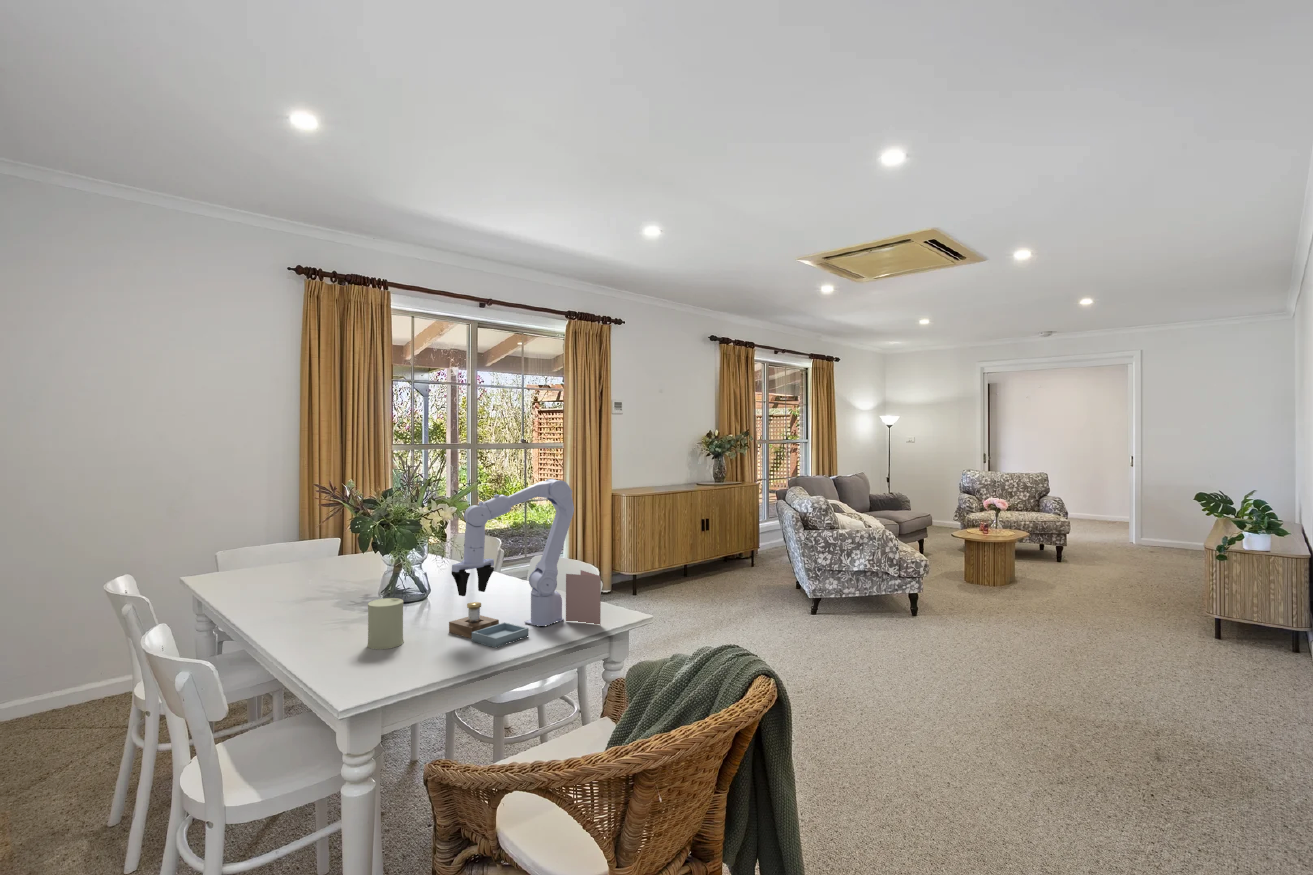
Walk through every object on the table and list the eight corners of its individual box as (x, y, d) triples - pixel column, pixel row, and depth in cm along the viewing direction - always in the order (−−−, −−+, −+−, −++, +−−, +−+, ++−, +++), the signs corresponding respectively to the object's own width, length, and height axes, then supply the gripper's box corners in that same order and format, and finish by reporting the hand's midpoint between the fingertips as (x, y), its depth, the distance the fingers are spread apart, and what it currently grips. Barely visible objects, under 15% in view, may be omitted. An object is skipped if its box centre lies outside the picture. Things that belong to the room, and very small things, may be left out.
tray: (504, 630, 191) (504, 622, 191) (528, 636, 186) (528, 628, 186) (471, 640, 182) (471, 632, 182) (495, 647, 176) (495, 638, 176)
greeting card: (602, 625, 198) (603, 575, 198) (581, 629, 193) (582, 578, 193) (582, 616, 206) (582, 569, 206) (562, 620, 202) (562, 572, 202)
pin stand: (476, 624, 198) (476, 614, 198) (498, 629, 192) (498, 619, 192) (449, 632, 190) (449, 621, 190) (471, 638, 184) (471, 627, 184)
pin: (475, 628, 194) (475, 601, 194) (484, 630, 191) (484, 603, 191) (464, 631, 190) (464, 604, 190) (473, 633, 188) (473, 606, 188)
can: (410, 642, 180) (411, 598, 180) (381, 651, 172) (382, 606, 172) (389, 636, 185) (389, 594, 185) (359, 645, 177) (360, 601, 177)
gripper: (482, 542, 199) (480, 587, 198) (445, 547, 186) (442, 595, 186) (499, 545, 195) (497, 590, 195) (462, 550, 183) (460, 599, 182)
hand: (472, 593), depth 190 cm, fingers open, 7 cm apart
